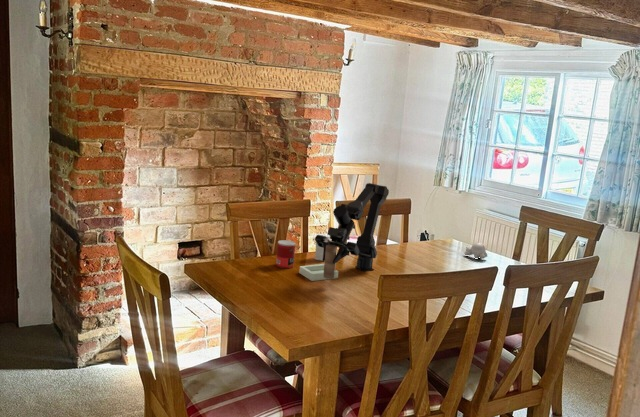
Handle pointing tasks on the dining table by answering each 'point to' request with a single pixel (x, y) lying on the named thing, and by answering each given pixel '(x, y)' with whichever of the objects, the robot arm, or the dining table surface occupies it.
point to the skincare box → (320, 249)
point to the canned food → (285, 254)
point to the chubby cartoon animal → (476, 250)
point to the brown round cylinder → (329, 261)
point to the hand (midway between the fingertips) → (328, 262)
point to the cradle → (315, 272)
